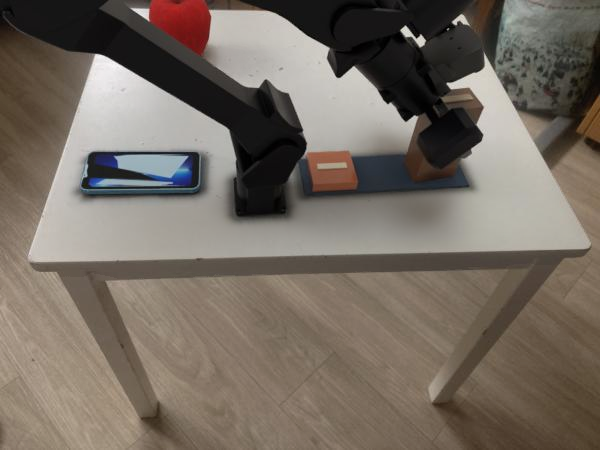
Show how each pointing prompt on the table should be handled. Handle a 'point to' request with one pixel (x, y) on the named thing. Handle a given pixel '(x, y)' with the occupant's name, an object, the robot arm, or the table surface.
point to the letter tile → (331, 171)
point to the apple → (183, 21)
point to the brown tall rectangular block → (453, 99)
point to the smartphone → (141, 172)
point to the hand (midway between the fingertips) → (451, 131)
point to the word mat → (384, 176)
